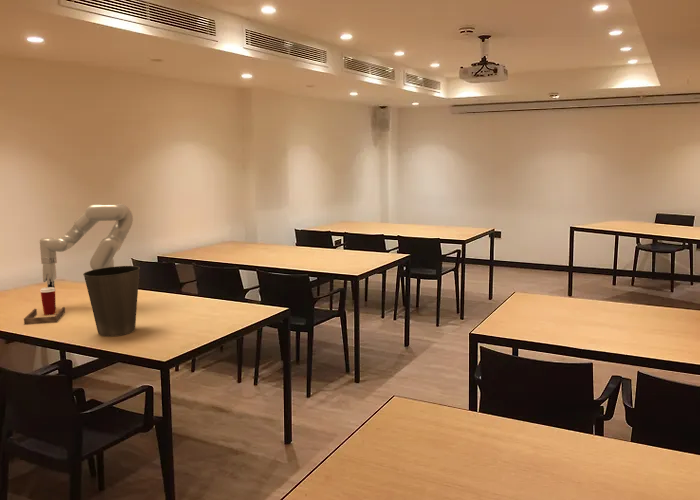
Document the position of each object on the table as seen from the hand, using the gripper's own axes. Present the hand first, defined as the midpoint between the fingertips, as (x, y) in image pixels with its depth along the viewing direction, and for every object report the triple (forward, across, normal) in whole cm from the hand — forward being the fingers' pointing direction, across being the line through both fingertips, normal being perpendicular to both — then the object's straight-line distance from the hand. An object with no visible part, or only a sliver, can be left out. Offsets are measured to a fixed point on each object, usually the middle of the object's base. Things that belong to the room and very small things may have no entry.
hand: (51, 293), depth 329 cm
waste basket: (+10, +53, +40) cm, 67 cm away
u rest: (+10, +17, 0) cm, 19 cm away
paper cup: (+10, +8, 0) cm, 12 cm away
